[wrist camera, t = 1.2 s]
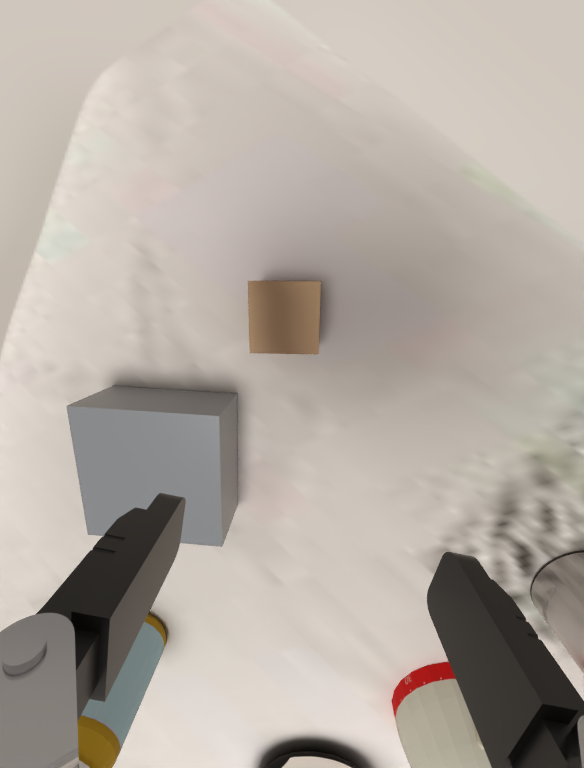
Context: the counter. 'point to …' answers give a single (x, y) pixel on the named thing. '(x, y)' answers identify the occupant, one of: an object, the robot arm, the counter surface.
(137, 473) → the gray square block
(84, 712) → the bottle
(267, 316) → the walnut cube
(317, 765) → the milk container
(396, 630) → the counter surface
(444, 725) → the kitchen timer
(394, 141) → the counter surface
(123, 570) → the robot arm
